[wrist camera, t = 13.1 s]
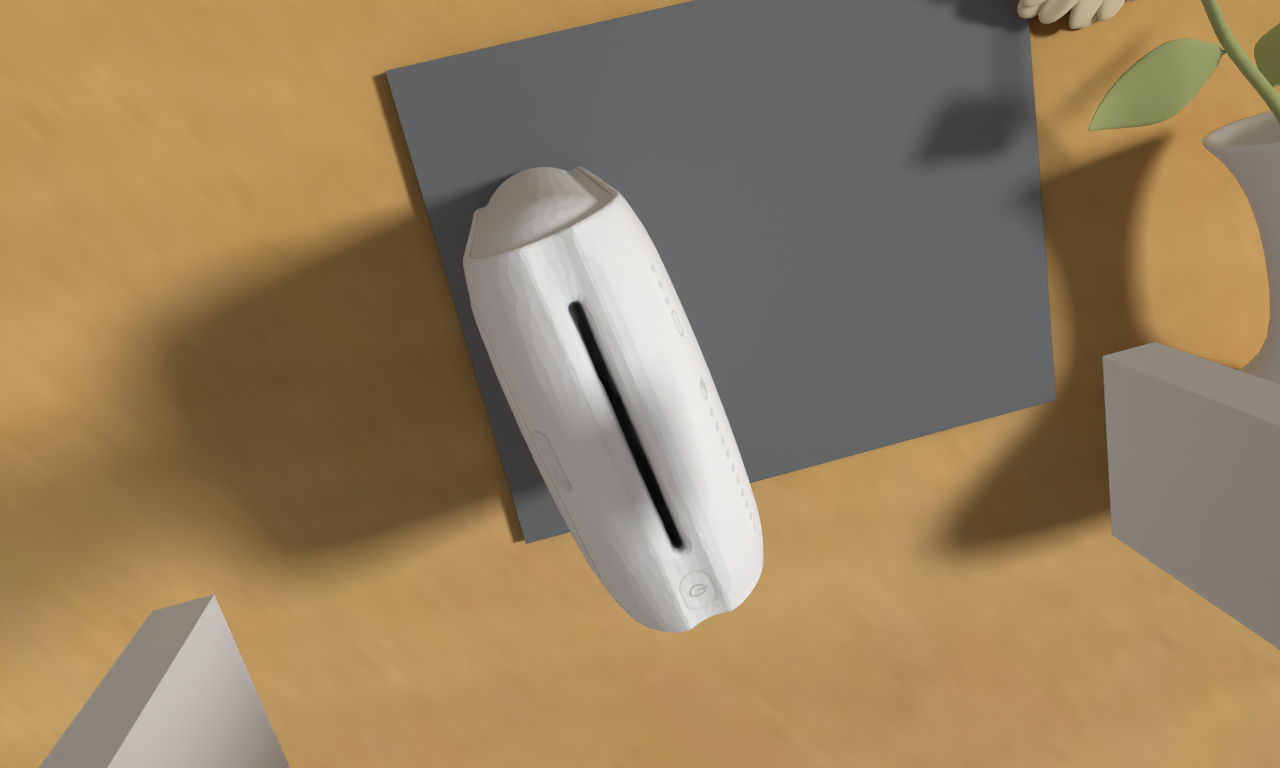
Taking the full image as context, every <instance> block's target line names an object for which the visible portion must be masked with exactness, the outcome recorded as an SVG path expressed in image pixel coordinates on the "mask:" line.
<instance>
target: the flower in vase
mask: <svg viewBox="0 0 1280 768" xmlns="http://www.w3.org/2000/svg"><path fill="white" fill-rule="evenodd" d="M1129 1H1136V0H1129ZM1201 1H1202V4H1203V6H1204V8H1205V11H1206V13H1207V16H1208V18H1209V20H1210V23H1211V25H1212V27H1213V29H1214V32H1215V34H1216V36H1217V37H1218V39H1219V41H1220V43H1221V45H1222V46H1223V48H1224V49H1225V51H1224V50H1221V48H1220V47H1219V46H1218V45H1217V44H1215V43H1211V42H1206V41H1200V40H1194V39H1176V40H1172V41H1169V42H1167V43H1164V44H1162V45H1160V46H1159V47H1157V48H1155V49H1154V50H1152V51H1150V52H1149V53H1148V54H1146V55H1145V56H1144V57H1142V58H1141V59H1140V60H1138V61H1137V62H1136V63H1135V64H1134V65H1133V66H1132V67H1130V68H1129V69H1128V70H1127V71H1126V72H1125V73H1124V74H1123V75H1122V76H1121V77H1120V78H1119V79H1118V80H1117V81H1116V82H1115V84H1114V85H1113V86H1112V87H1111V89H1110V90H1109V91H1108V93H1107V94H1106V95H1105V97H1104V98H1103V100H1102V102H1101V103H1100V105H1099V107H1098V109H1097V111H1096V112H1095V114H1094V117H1093V119H1092V121H1091V124H1090V126H1089V131H1094V130H1104V129H1115V128H1129V127H1139V126H1145V125H1151V124H1155V123H1159V122H1162V121H1165V120H1167V119H1169V118H1171V117H1173V116H1174V115H1175V114H1177V113H1178V112H1179V111H1181V110H1182V109H1183V108H1184V107H1185V106H1186V105H1187V104H1188V103H1189V102H1190V101H1191V100H1192V98H1193V97H1194V96H1195V95H1196V94H1197V93H1198V91H1199V90H1200V89H1201V88H1202V87H1203V85H1204V84H1205V83H1206V81H1207V80H1208V79H1209V78H1210V76H1211V75H1212V73H1213V72H1214V70H1215V69H1216V67H1217V65H1218V63H1219V61H1220V58H1221V57H1222V55H1223V54H1225V53H1226V52H1227V54H1228V55H1229V57H1230V58H1231V60H1232V61H1233V62H1234V63H1235V65H1236V66H1237V67H1238V68H1239V70H1240V71H1241V72H1242V74H1243V75H1244V76H1245V77H1246V78H1247V80H1248V81H1249V82H1250V83H1251V84H1252V86H1253V87H1254V88H1255V89H1256V91H1257V92H1258V93H1259V94H1260V96H1261V97H1262V98H1263V99H1264V101H1265V102H1266V104H1267V105H1268V106H1269V108H1270V109H1271V111H1269V112H1265V113H1261V114H1258V115H1254V116H1251V117H1247V118H1244V119H1241V120H1238V121H1235V122H1232V123H1230V124H1227V125H1225V126H1222V127H1220V128H1218V129H1216V130H1214V131H1212V132H1211V133H1209V134H1208V135H1207V136H1205V137H1204V138H1203V140H1202V143H1203V145H1204V147H1205V148H1206V149H1207V150H1208V151H1210V152H1211V153H1212V154H1213V155H1214V156H1215V157H1217V158H1218V159H1219V160H1220V161H1221V162H1222V163H1223V164H1224V165H1225V166H1226V167H1227V168H1228V169H1229V170H1230V172H1231V173H1232V174H1233V175H1234V176H1235V177H1236V179H1237V181H1238V182H1239V184H1240V186H1241V188H1242V189H1243V191H1244V193H1245V194H1246V196H1247V198H1248V200H1249V203H1250V205H1251V208H1252V211H1253V214H1254V216H1255V219H1256V222H1257V225H1258V228H1259V232H1260V237H1261V241H1262V245H1263V250H1264V254H1265V259H1266V267H1267V274H1268V282H1269V293H1270V320H1269V326H1268V333H1267V338H1266V340H1265V342H1264V344H1263V346H1262V348H1261V350H1260V352H1259V353H1258V354H1257V355H1256V356H1255V357H1254V358H1253V359H1252V360H1251V361H1250V362H1249V363H1248V364H1247V365H1246V366H1244V367H1243V368H1241V369H1240V370H1239V371H1242V372H1245V373H1248V374H1250V375H1253V376H1256V377H1259V378H1262V379H1265V380H1268V381H1271V382H1274V383H1277V384H1280V96H1279V95H1278V93H1277V92H1276V91H1275V90H1274V87H1276V86H1279V85H1280V23H1279V24H1278V25H1277V26H1275V27H1274V28H1272V29H1271V30H1270V31H1268V32H1267V33H1266V34H1265V35H1264V36H1262V37H1261V38H1260V40H1259V41H1258V42H1257V44H1256V46H1255V49H1254V56H1255V60H1256V63H1257V67H1258V68H1257V67H1256V66H1255V65H1254V64H1253V62H1252V61H1251V60H1250V59H1249V57H1248V56H1247V55H1246V53H1245V52H1244V51H1243V50H1242V48H1241V47H1240V45H1239V44H1238V42H1237V41H1236V40H1235V38H1234V37H1233V35H1232V33H1231V31H1230V29H1229V27H1228V26H1227V24H1226V22H1225V19H1224V17H1223V15H1222V13H1221V10H1220V8H1219V6H1218V3H1217V1H1216V0H1201ZM1124 2H1125V0H1020V1H1019V3H1018V7H1017V12H1018V14H1019V16H1020V17H1021V18H1032V17H1034V16H1036V15H1038V16H1039V21H1040V22H1041V23H1043V24H1049V23H1052V22H1054V21H1056V20H1058V19H1059V18H1061V17H1062V16H1063V15H1065V14H1066V13H1067V12H1068V11H1069V10H1070V9H1071V8H1072V10H1071V13H1070V18H1069V26H1070V28H1071V29H1077V28H1080V29H1084V28H1087V27H1089V26H1090V25H1092V24H1093V23H1094V22H1095V21H1096V20H1097V19H1099V21H1101V22H1102V21H1106V20H1109V19H1110V18H1112V17H1113V16H1114V15H1115V14H1116V13H1117V12H1118V11H1119V9H1120V8H1121V7H1122V5H1123V3H1124ZM1271 85H1272V86H1271Z"/></svg>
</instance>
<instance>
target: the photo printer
mask: <svg viewBox="0 0 1280 768" xmlns="http://www.w3.org/2000/svg"><path fill="white" fill-rule="evenodd" d="M463 266H464V272H465V278H466V283H467V287H468V291H469V295H470V302H471V308H472V311H473V314H474V317H475V321H476V324H477V326H478V329H479V332H480V334H481V337H482V339H483V342H484V344H485V347H486V349H487V352H488V354H489V357H490V360H491V362H492V365H493V368H494V370H495V373H496V375H497V378H498V380H499V382H500V385H501V387H502V389H503V392H504V394H505V396H506V398H507V401H508V403H509V405H510V408H511V410H512V412H513V414H514V417H515V419H516V421H517V424H518V426H519V428H520V430H521V432H522V435H523V437H524V439H525V441H526V443H527V445H528V448H529V450H530V452H531V453H532V456H533V459H534V461H535V463H536V465H537V467H538V469H539V471H540V473H541V475H542V477H543V479H544V481H545V483H546V485H547V487H548V489H549V491H550V493H551V495H552V497H553V500H554V502H555V504H556V505H557V507H558V509H559V511H560V513H561V515H562V517H563V519H564V520H565V522H566V525H567V527H568V528H569V530H570V532H571V534H572V536H573V538H574V539H575V541H576V543H577V545H578V546H579V548H580V550H581V552H582V554H583V555H584V557H585V559H586V561H587V562H588V564H589V565H590V567H591V569H592V570H593V572H594V573H596V574H597V576H598V578H599V579H600V581H601V582H602V584H603V585H604V586H605V588H606V589H607V591H608V592H609V593H610V594H611V596H612V597H613V598H614V599H615V601H616V602H617V603H618V604H619V605H620V606H621V607H622V608H623V609H624V610H625V611H626V612H627V613H628V614H629V615H630V616H631V617H632V618H633V619H634V620H635V621H637V622H639V623H640V624H642V625H644V626H646V627H648V628H651V629H655V630H659V631H664V632H685V631H688V630H690V629H692V628H693V627H695V626H696V625H697V624H699V623H700V622H701V621H703V620H705V619H707V618H709V617H711V616H713V615H717V614H720V613H724V612H729V611H732V610H734V609H735V608H736V607H738V606H739V605H740V604H741V603H742V602H743V601H744V600H745V599H746V598H747V597H748V595H749V594H750V593H751V591H752V590H753V588H754V587H755V585H756V584H757V582H758V580H759V578H760V575H761V572H762V568H763V539H762V530H761V523H760V518H759V514H758V510H757V505H756V502H755V499H754V495H753V492H752V489H751V485H750V482H749V479H748V476H747V473H746V470H745V467H744V464H743V461H742V458H741V455H740V452H739V449H738V447H737V444H736V441H735V438H734V435H733V433H732V430H731V427H730V424H729V421H728V419H727V416H726V414H725V410H724V408H723V405H722V403H721V400H720V398H719V395H718V392H717V390H716V387H715V384H714V382H713V379H712V377H711V374H710V372H709V369H708V367H707V364H706V362H705V359H704V357H703V354H702V352H701V349H700V347H699V345H698V342H697V340H696V337H695V335H694V333H693V330H692V328H691V326H690V323H689V321H688V318H687V316H686V314H685V311H684V309H683V307H682V305H681V302H680V300H679V298H678V296H677V293H676V291H675V289H674V287H673V284H672V282H671V280H670V278H669V275H668V273H667V271H666V269H665V267H664V264H663V262H662V260H661V258H660V256H659V254H658V252H657V250H656V248H655V246H654V244H653V242H652V240H651V238H650V237H649V235H648V233H647V231H646V229H645V228H644V226H643V224H642V223H641V221H640V220H639V218H638V217H637V215H636V214H635V213H634V211H633V210H632V208H631V207H630V205H629V204H628V203H627V201H626V200H625V199H624V197H623V196H622V195H621V194H620V193H619V192H618V191H616V190H615V189H614V188H613V187H611V186H610V185H608V184H607V183H605V182H604V181H603V180H602V179H600V178H599V177H597V176H596V175H594V174H592V173H591V172H590V171H588V170H586V169H585V168H583V167H577V168H575V169H573V170H571V171H565V170H562V169H558V168H553V167H537V168H531V169H527V170H524V171H521V172H519V173H517V174H515V175H513V176H511V177H510V178H508V179H507V180H506V181H504V182H503V183H502V184H501V185H500V186H499V187H498V188H497V190H496V191H495V192H494V194H493V195H492V197H491V199H490V201H489V203H488V205H487V206H486V207H483V208H479V209H477V210H476V211H475V212H474V215H473V221H472V225H471V229H470V234H469V238H468V241H467V245H466V250H465V254H464V258H463Z"/></svg>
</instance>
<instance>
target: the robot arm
mask: <svg viewBox="0 0 1280 768" xmlns="http://www.w3.org/2000/svg"><path fill="white" fill-rule="evenodd" d="M1103 375H1104V394H1105V413H1106V431H1107V450H1108V469H1109V487H1110V506H1111V525H1112V535H1113V536H1114V537H1116V538H1117V539H1119V540H1120V541H1122V542H1123V543H1125V544H1126V545H1128V546H1129V547H1130V548H1132V549H1133V550H1135V551H1136V552H1138V553H1139V554H1141V555H1142V556H1144V557H1145V558H1147V559H1148V560H1149V561H1151V562H1152V563H1154V564H1155V565H1157V566H1158V567H1160V568H1161V569H1163V570H1164V571H1166V572H1167V573H1168V574H1170V575H1171V576H1173V577H1174V578H1176V579H1177V580H1179V581H1180V582H1182V583H1183V584H1185V585H1186V586H1187V587H1189V588H1190V589H1192V590H1193V591H1195V592H1196V593H1198V594H1199V595H1201V596H1202V597H1204V598H1205V599H1206V600H1208V601H1209V602H1211V603H1212V604H1214V605H1215V606H1217V607H1218V608H1220V609H1221V610H1223V611H1224V612H1225V613H1227V614H1228V615H1230V616H1231V617H1233V618H1234V619H1236V620H1237V621H1239V622H1240V623H1242V624H1243V625H1244V626H1246V627H1247V628H1249V629H1250V630H1252V631H1253V632H1255V633H1256V634H1258V635H1259V636H1261V637H1262V638H1263V639H1265V640H1266V641H1268V642H1269V643H1271V644H1272V645H1274V646H1275V647H1277V648H1278V649H1280V384H1277V383H1274V382H1271V381H1268V380H1265V379H1262V378H1259V377H1256V376H1253V375H1250V374H1248V373H1245V372H1242V371H1239V370H1236V369H1233V368H1230V367H1227V366H1224V365H1221V364H1218V363H1215V362H1212V361H1209V360H1207V359H1204V358H1201V357H1198V356H1195V355H1192V354H1189V353H1186V352H1183V351H1180V350H1177V349H1174V348H1171V347H1168V346H1166V345H1163V344H1160V343H1157V342H1153V343H1149V344H1146V345H1142V346H1138V347H1134V348H1131V349H1127V350H1123V351H1120V352H1116V353H1112V354H1108V355H1105V356H1103ZM39 768H290V767H289V765H288V762H287V760H286V758H285V755H284V753H283V751H282V749H281V746H280V744H279V742H278V739H277V737H276V735H275V732H274V730H273V728H272V726H271V723H270V721H269V719H268V716H267V714H266V712H265V710H264V707H263V705H262V703H261V700H260V698H259V696H258V694H257V691H256V689H255V687H254V684H253V682H252V680H251V678H250V675H249V673H248V671H247V668H246V666H245V664H244V662H243V659H242V657H241V655H240V652H239V650H238V648H237V646H236V643H235V641H234V639H233V636H232V634H231V632H230V630H229V627H228V625H227V623H226V620H225V618H224V616H223V614H222V611H221V609H220V607H219V604H218V602H217V600H216V598H215V595H211V596H207V597H203V598H199V599H196V600H192V601H188V602H184V603H181V604H177V605H173V606H170V607H166V608H162V609H158V610H155V611H152V612H151V614H150V615H149V616H148V618H147V619H146V620H145V622H144V623H143V625H142V626H141V627H140V629H139V630H138V632H137V633H136V634H135V636H134V637H133V638H132V640H131V641H130V643H129V644H128V645H127V647H126V648H125V650H124V651H123V652H122V654H121V655H120V656H119V658H118V659H117V661H116V662H115V663H114V665H113V666H112V668H111V669H110V670H109V672H108V673H107V674H106V676H105V677H104V679H103V680H102V681H101V683H100V684H99V686H98V687H97V688H96V690H95V691H94V692H93V694H92V695H91V697H90V698H89V699H88V701H87V702H86V704H85V705H84V706H83V708H82V709H81V710H80V712H79V713H78V715H77V716H76V717H75V719H74V720H73V722H72V723H71V724H70V726H69V727H68V728H67V730H66V731H65V733H64V734H63V735H62V737H61V738H60V740H59V741H58V742H57V744H56V745H55V746H54V748H53V749H52V751H51V752H50V753H49V755H48V756H47V758H46V759H45V760H44V762H43V763H42V765H41V766H40V767H39Z"/></svg>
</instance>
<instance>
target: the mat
mask: <svg viewBox="0 0 1280 768" xmlns="http://www.w3.org/2000/svg"><path fill="white" fill-rule="evenodd" d="M1019 1H1020V0H694V1H690V2H686V3H681V4H677V5H672V6H668V7H664V8H659V9H655V10H651V11H646V12H642V13H637V14H633V15H629V16H624V17H620V18H615V19H611V20H607V21H602V22H598V23H594V24H589V25H585V26H580V27H576V28H572V29H567V30H563V31H558V32H554V33H550V34H545V35H541V36H537V37H532V38H528V39H523V40H519V41H515V42H510V43H506V44H501V45H497V46H493V47H488V48H484V49H480V50H475V51H471V52H466V53H462V54H458V55H453V56H449V57H444V58H440V59H436V60H431V61H427V62H423V63H418V64H414V65H409V66H405V67H401V68H396V69H392V70H387V71H385V72H386V75H387V78H388V82H389V85H390V88H391V92H392V95H393V99H394V102H395V105H396V109H397V112H398V115H399V119H400V122H401V125H402V129H403V132H404V135H405V139H406V142H407V146H408V149H409V152H410V156H411V159H412V162H413V166H414V169H415V172H416V176H417V179H418V182H419V186H420V189H421V193H422V196H423V199H424V203H425V206H426V209H427V213H428V216H429V219H430V223H431V226H432V229H433V233H434V236H435V240H436V243H437V246H438V250H439V253H440V256H441V260H442V263H443V266H444V270H445V273H446V276H447V280H448V283H449V287H450V290H451V293H452V297H453V300H454V303H455V307H456V310H457V313H458V317H459V320H460V323H461V327H462V330H463V334H464V337H465V340H466V344H467V347H468V350H469V354H470V357H471V360H472V364H473V367H474V370H475V374H476V377H477V381H478V384H479V387H480V391H481V394H482V397H483V401H484V404H485V407H486V411H487V414H488V417H489V421H490V424H491V428H492V431H493V434H494V438H495V441H496V444H497V448H498V451H499V454H500V458H501V461H502V464H503V468H504V471H505V474H506V478H507V481H508V485H509V488H510V491H511V495H512V498H513V501H514V505H515V508H516V511H517V515H518V518H519V521H520V525H521V528H522V532H523V535H524V538H525V542H526V544H527V543H531V542H535V541H538V540H542V539H546V538H550V537H553V536H557V535H561V534H564V533H568V532H570V530H569V528H568V527H567V525H566V522H565V520H564V519H563V517H562V515H561V513H560V511H559V509H558V507H557V505H556V504H555V502H554V500H553V497H552V495H551V493H550V491H549V489H548V487H547V485H546V483H545V481H544V479H543V477H542V475H541V473H540V471H539V469H538V467H537V465H536V463H535V461H534V459H533V456H532V453H531V452H530V450H529V448H528V445H527V443H526V441H525V439H524V437H523V435H522V432H521V430H520V428H519V426H518V424H517V421H516V419H515V417H514V414H513V412H512V410H511V408H510V405H509V403H508V401H507V398H506V396H505V394H504V392H503V389H502V387H501V385H500V382H499V380H498V378H497V375H496V373H495V370H494V368H493V365H492V362H491V360H490V357H489V354H488V352H487V349H486V347H485V344H484V342H483V339H482V337H481V334H480V332H479V329H478V326H477V324H476V321H475V317H474V314H473V311H472V308H471V302H470V295H469V291H468V287H467V283H466V278H465V272H464V266H463V258H464V254H465V250H466V245H467V241H468V238H469V234H470V229H471V225H472V221H473V215H474V212H475V211H476V210H477V209H479V208H483V207H486V206H487V205H488V203H489V201H490V199H491V197H492V195H493V194H494V192H495V191H496V190H497V188H498V187H499V186H500V185H501V184H502V183H503V182H504V181H506V180H507V179H508V178H510V177H511V176H513V175H515V174H517V173H519V172H521V171H524V170H527V169H531V168H537V167H553V168H558V169H562V170H565V171H571V170H573V169H575V168H577V167H583V168H585V169H586V170H588V171H590V172H591V173H592V174H594V175H596V176H597V177H599V178H600V179H602V180H603V181H604V182H605V183H607V184H608V185H610V186H611V187H613V188H614V189H615V190H616V191H618V192H619V193H620V194H621V195H622V196H623V197H624V199H625V200H626V201H627V203H628V204H629V205H630V207H631V208H632V210H633V211H634V213H635V214H636V215H637V217H638V218H639V220H640V221H641V223H642V224H643V226H644V228H645V229H646V231H647V233H648V235H649V237H650V238H651V240H652V242H653V244H654V246H655V248H656V250H657V252H658V254H659V256H660V258H661V260H662V262H663V264H664V267H665V269H666V271H667V273H668V275H669V278H670V280H671V282H672V284H673V287H674V289H675V291H676V293H677V296H678V298H679V300H680V302H681V305H682V307H683V309H684V311H685V314H686V316H687V318H688V321H689V323H690V326H691V328H692V330H693V333H694V335H695V337H696V340H697V342H698V345H699V347H700V349H701V352H702V354H703V357H704V359H705V362H706V364H707V367H708V369H709V372H710V374H711V377H712V379H713V382H714V384H715V387H716V390H717V392H718V395H719V398H720V400H721V403H722V405H723V408H724V410H725V414H726V416H727V419H728V421H729V424H730V427H731V430H732V433H733V435H734V438H735V441H736V444H737V447H738V449H739V452H740V455H741V458H742V461H743V464H744V467H745V470H746V473H747V476H748V479H749V482H750V483H752V482H756V481H759V480H763V479H767V478H771V477H774V476H778V475H782V474H785V473H789V472H793V471H796V470H800V469H804V468H807V467H811V466H815V465H818V464H822V463H826V462H829V461H833V460H837V459H841V458H844V457H848V456H852V455H855V454H859V453H863V452H866V451H870V450H874V449H877V448H881V447H885V446H888V445H892V444H896V443H899V442H903V441H907V440H910V439H914V438H918V437H922V436H925V435H929V434H933V433H936V432H940V431H944V430H947V429H951V428H955V427H958V426H962V425H966V424H969V423H973V422H977V421H980V420H984V419H988V418H992V417H995V416H999V415H1003V414H1006V413H1010V412H1014V411H1017V410H1021V409H1025V408H1028V407H1032V406H1036V405H1039V404H1043V403H1047V402H1050V401H1054V400H1056V391H1055V377H1054V363H1053V349H1052V335H1051V321H1050V307H1049V294H1048V280H1047V266H1046V252H1045V238H1044V224H1043V210H1042V196H1041V182H1040V169H1039V155H1038V141H1037V127H1036V113H1035V99H1034V85H1033V71H1032V58H1031V44H1030V30H1029V18H1021V17H1020V16H1019V14H1018V12H1017V7H1018V3H1019Z"/></svg>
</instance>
